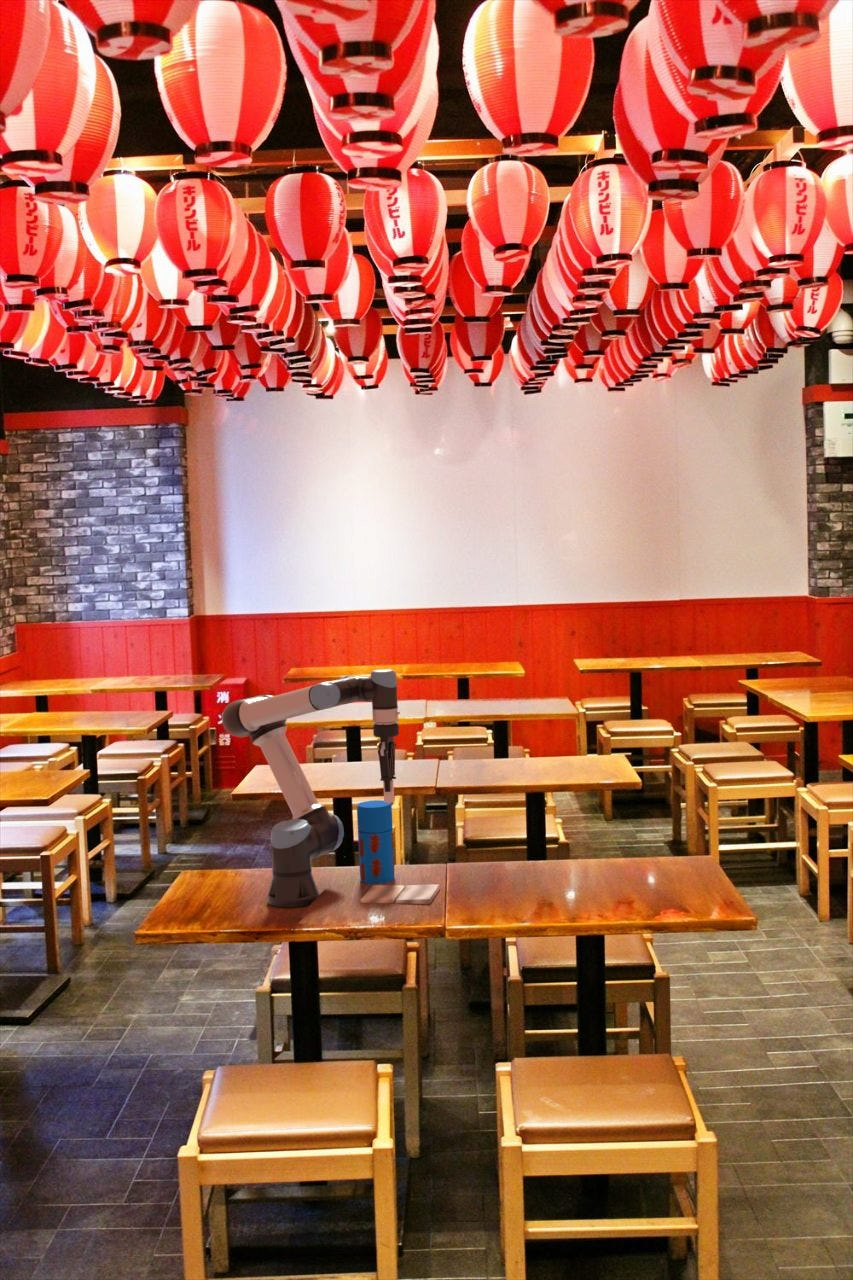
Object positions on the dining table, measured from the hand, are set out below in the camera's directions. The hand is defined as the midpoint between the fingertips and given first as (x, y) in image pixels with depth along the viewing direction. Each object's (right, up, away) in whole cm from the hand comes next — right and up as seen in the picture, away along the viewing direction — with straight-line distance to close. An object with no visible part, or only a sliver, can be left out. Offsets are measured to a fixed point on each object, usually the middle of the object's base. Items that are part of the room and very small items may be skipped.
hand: (389, 801), depth 351 cm
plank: (+9, -28, +1) cm, 30 cm away
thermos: (-4, -28, +21) cm, 35 cm away
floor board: (+4, -29, +2) cm, 30 cm away
